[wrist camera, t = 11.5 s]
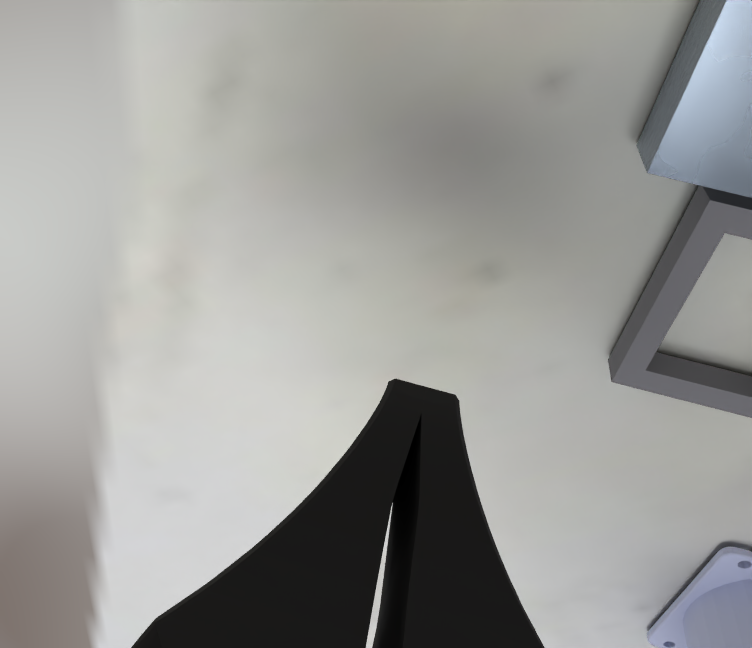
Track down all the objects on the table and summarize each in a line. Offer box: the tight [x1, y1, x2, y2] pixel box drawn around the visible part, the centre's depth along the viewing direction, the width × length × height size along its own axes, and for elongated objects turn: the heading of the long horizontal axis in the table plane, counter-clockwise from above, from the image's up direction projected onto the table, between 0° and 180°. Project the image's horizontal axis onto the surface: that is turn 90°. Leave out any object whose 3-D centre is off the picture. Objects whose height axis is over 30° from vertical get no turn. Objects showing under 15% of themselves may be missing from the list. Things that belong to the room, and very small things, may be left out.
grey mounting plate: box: [608, 185, 752, 418], centre depth 20 cm, size 6×7×1 cm
